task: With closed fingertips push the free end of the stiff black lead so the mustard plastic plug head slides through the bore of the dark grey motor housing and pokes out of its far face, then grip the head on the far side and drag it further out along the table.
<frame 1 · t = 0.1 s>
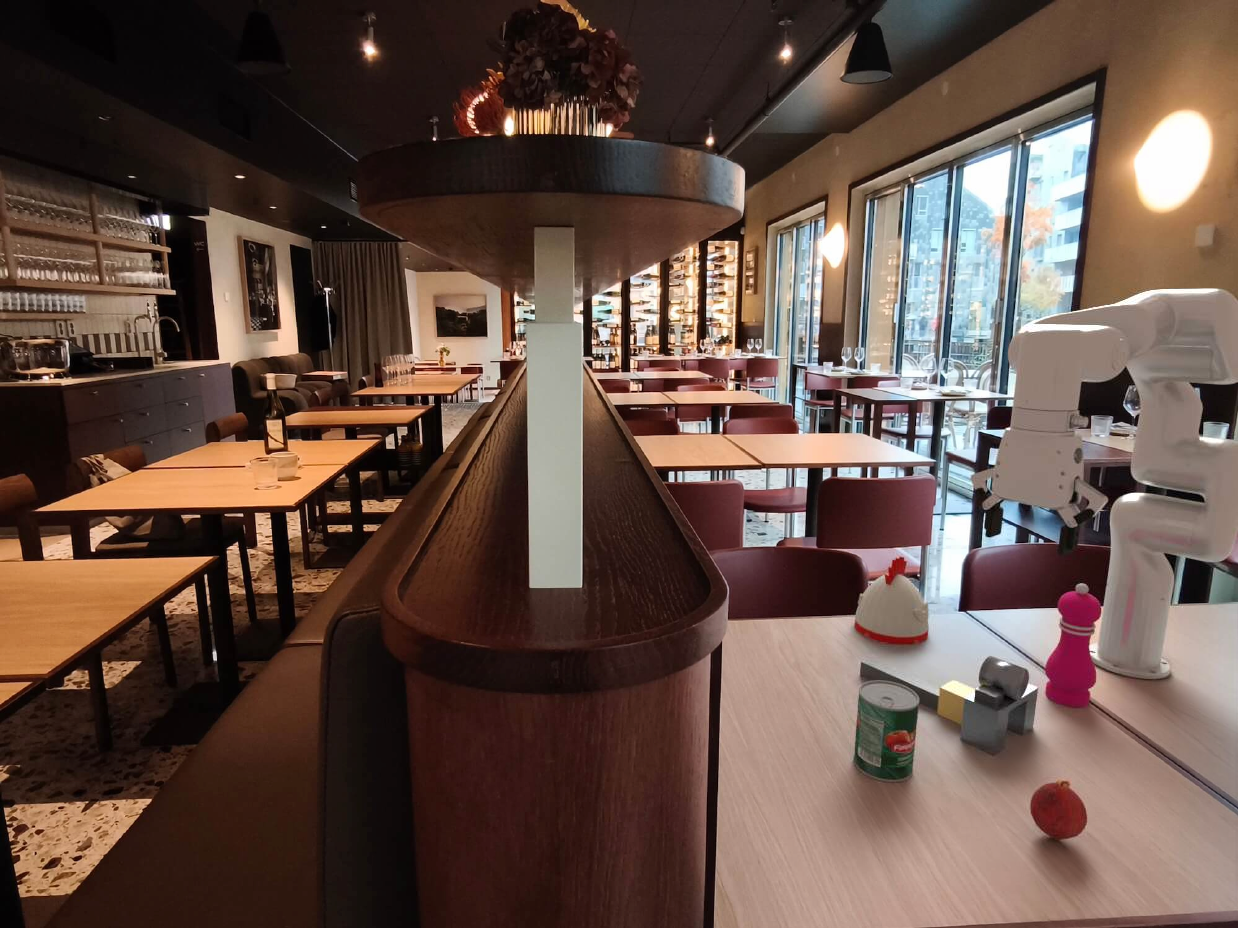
hand: (1027, 544, 101), 31 cm above the table, tool pointing down, fingers open, 9 cm apart
kitchen timer: (890, 630, 147), on the table
motor housing: (997, 733, 111), on the table
canned tomato: (882, 766, 103), on the table
pepper mill: (1066, 698, 121), on the table
plug: (958, 716, 115), on the table
red rounded piece: (1053, 839, 89), on the table
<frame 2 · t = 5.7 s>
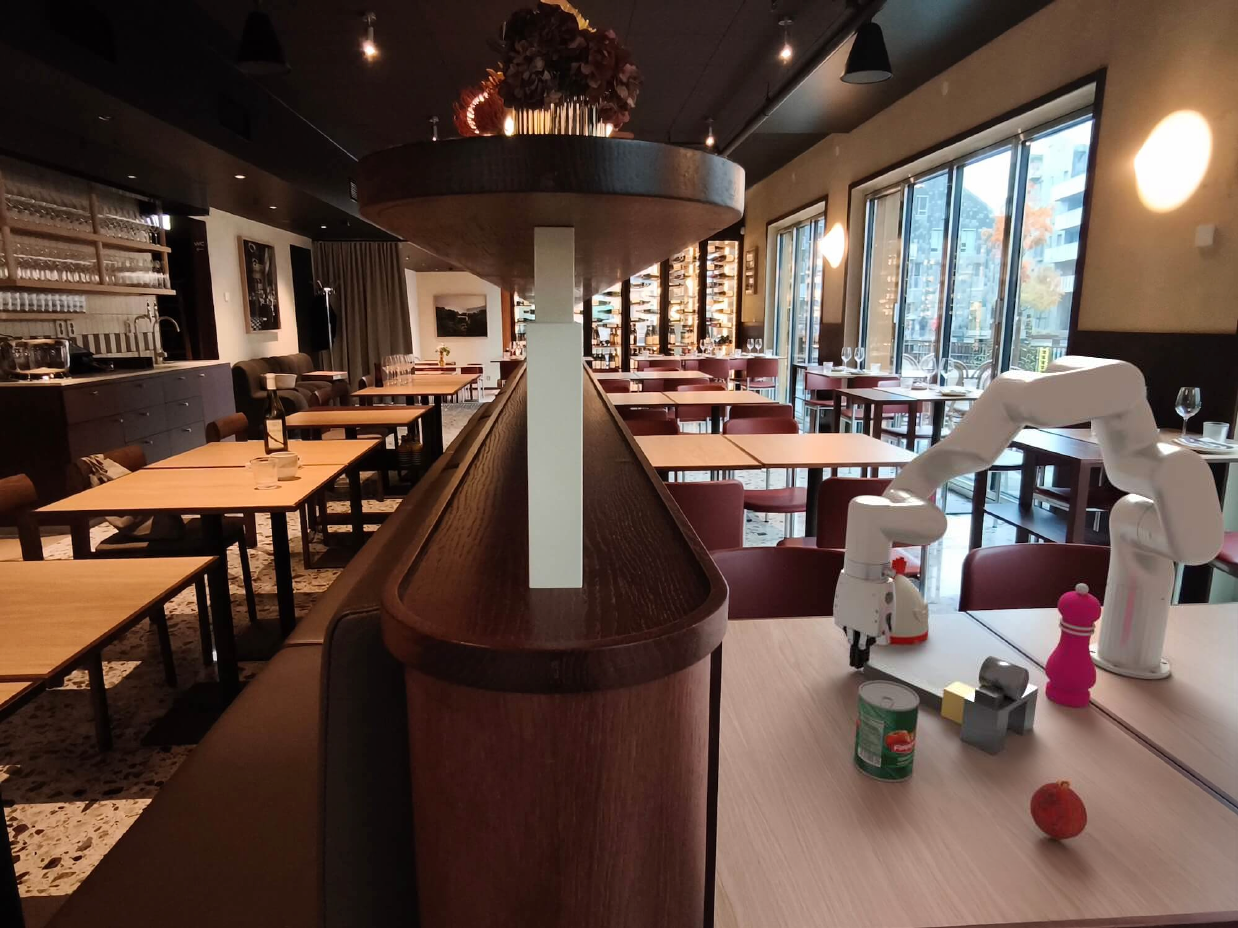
hand: (858, 665, 130), 1 cm above the table, tool pointing down, fingers closed
plug: (962, 717, 115), on the table, touching gripper
everything else where it was.
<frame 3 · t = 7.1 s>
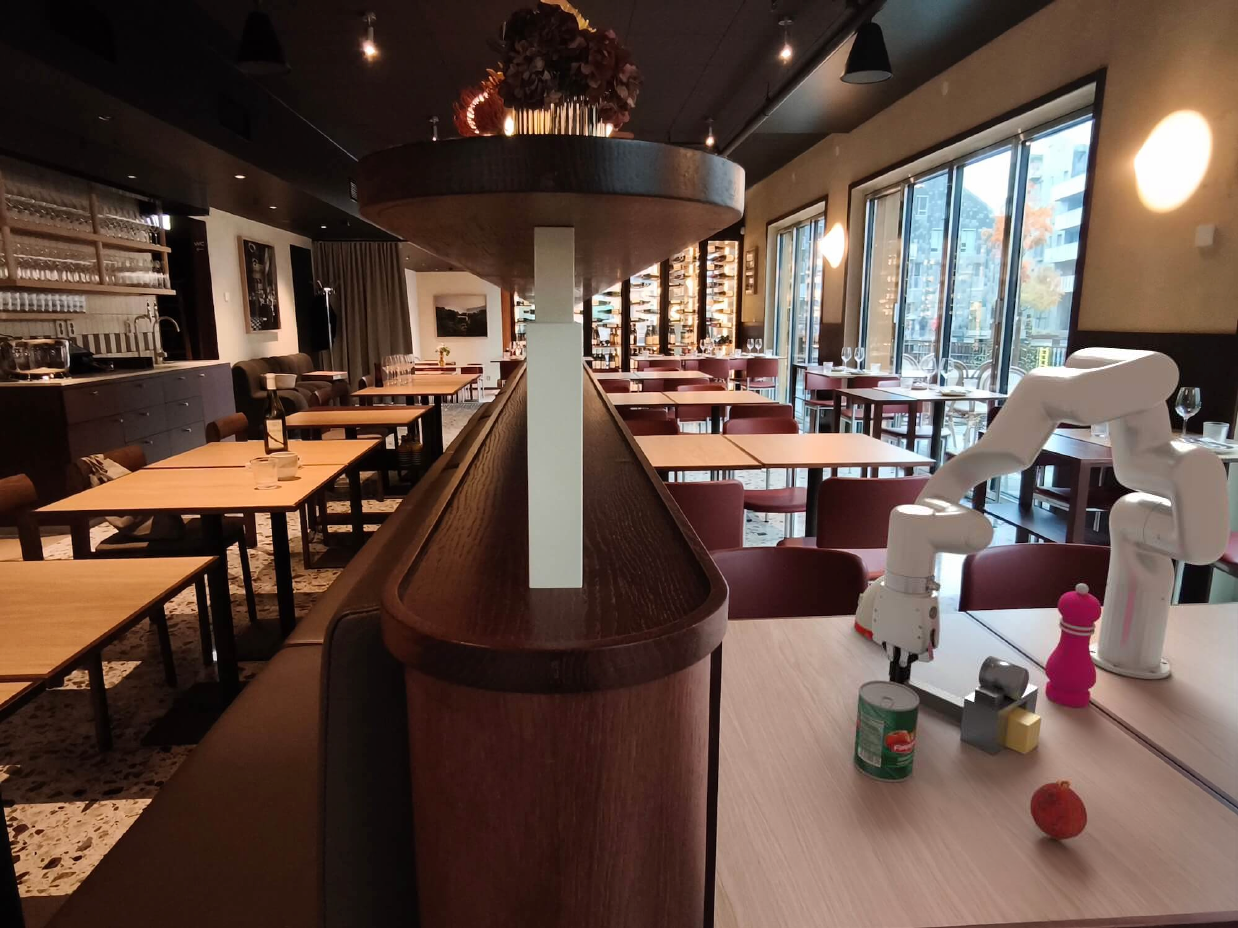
hand: (898, 683, 123), 1 cm above the table, tool pointing down, fingers closed
plug: (1013, 741, 108), on the table, touching gripper
everything else where it was.
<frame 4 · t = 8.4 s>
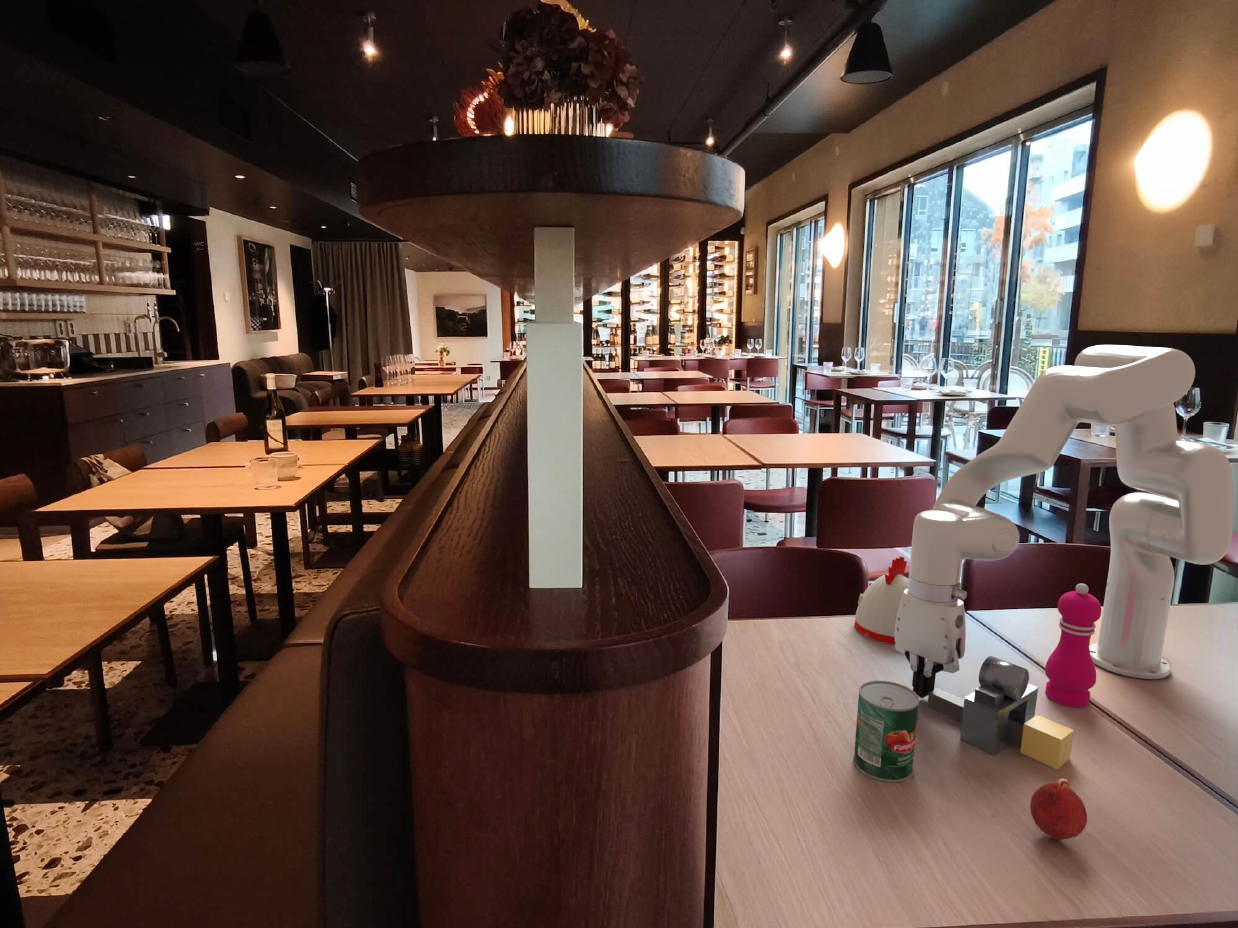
hand: (922, 693, 120), 1 cm above the table, tool pointing down, fingers closed
plug: (1044, 755, 105), on the table, touching gripper
everything else where it was.
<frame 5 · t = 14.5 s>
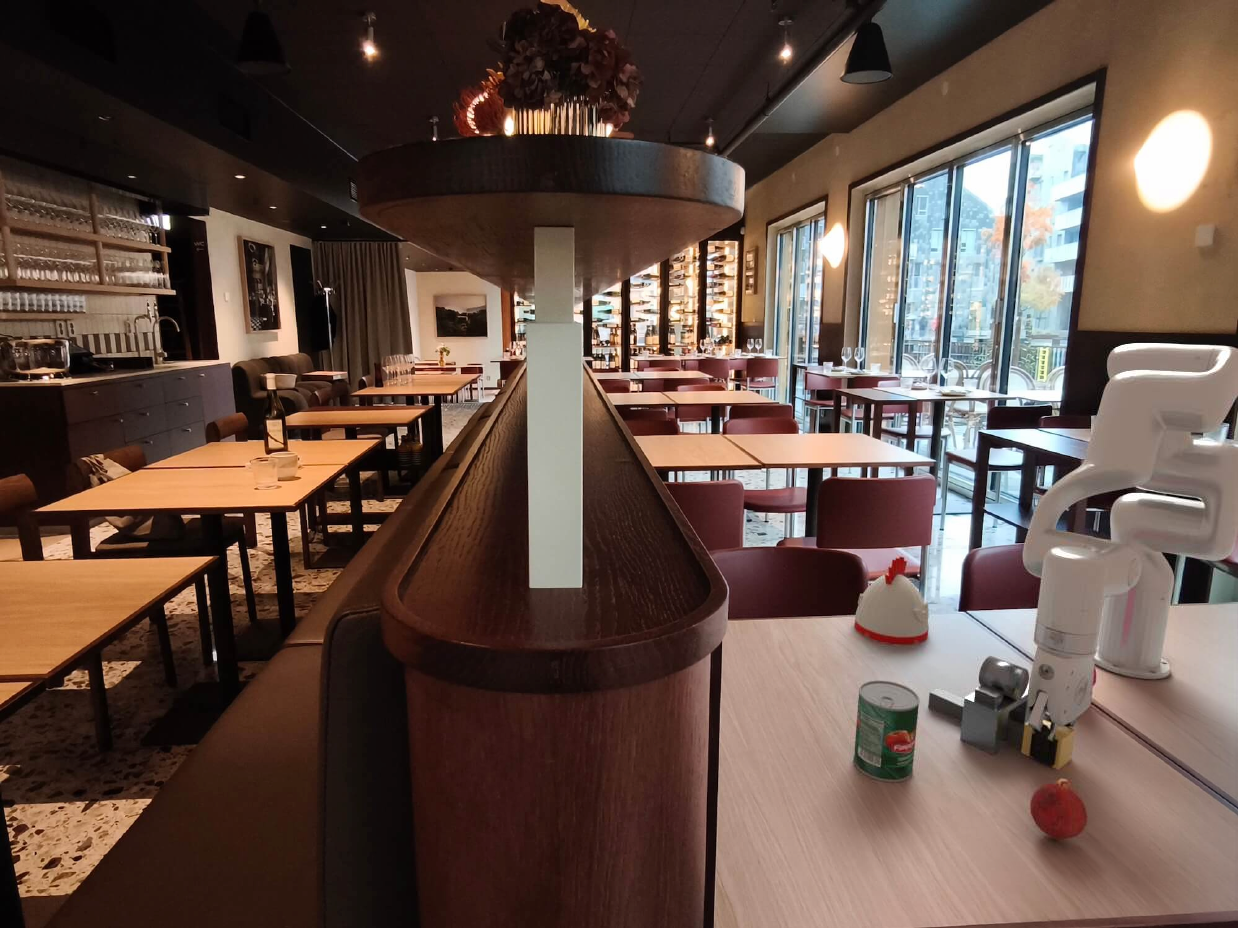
hand: (1049, 753, 105), 1 cm above the table, tool pointing down, fingers closed on plug, 4 cm apart
plug: (1045, 755, 105), on the table, touching gripper
everything else where it was.
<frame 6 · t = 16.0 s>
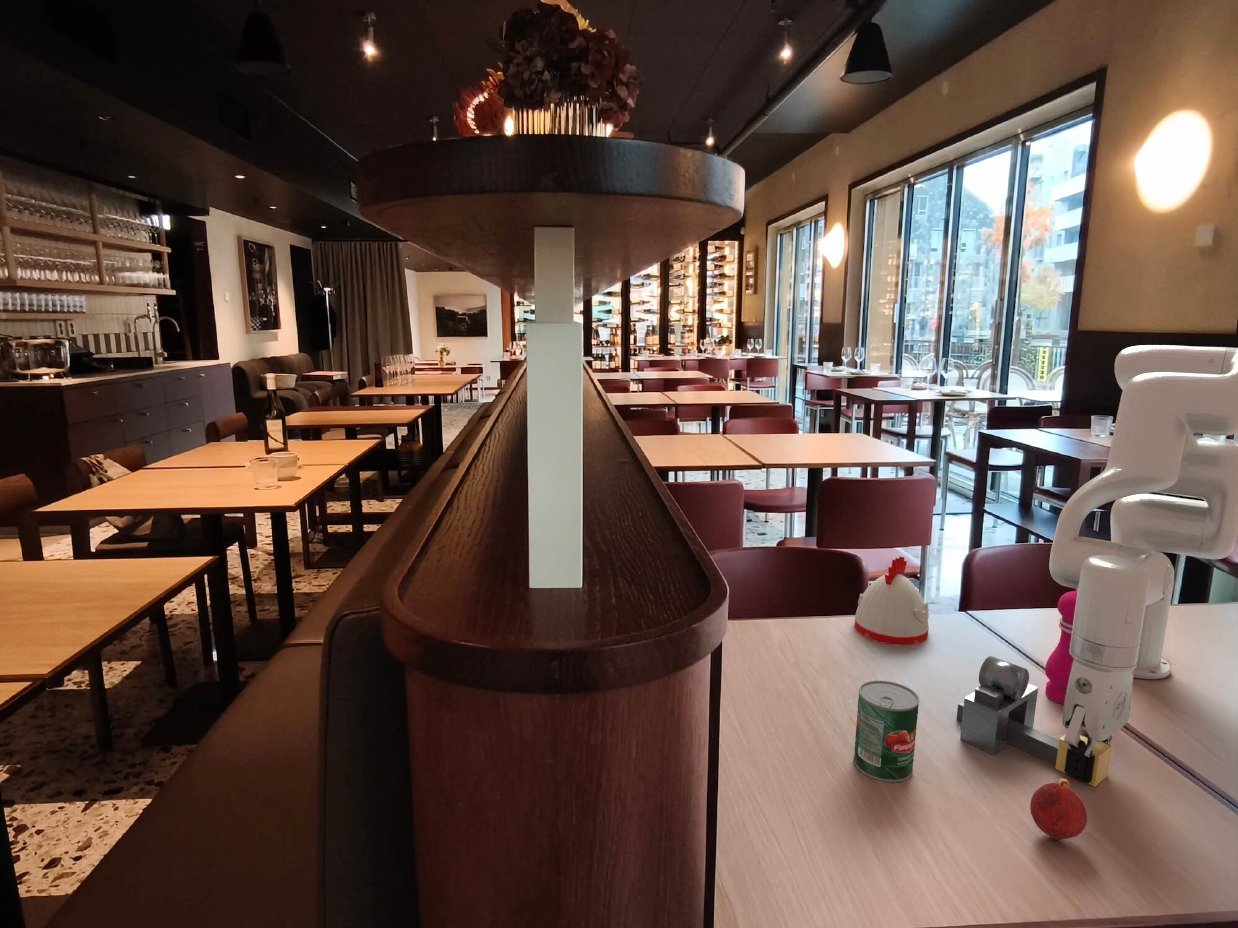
hand: (1085, 770, 101), 1 cm above the table, tool pointing down, fingers closed on plug, 4 cm apart
plug: (1081, 772, 101), on the table, touching gripper
everything else where it was.
when the fingers open (1 cm above the table, at t = 17.7 s): plug stays where it is, on the table.
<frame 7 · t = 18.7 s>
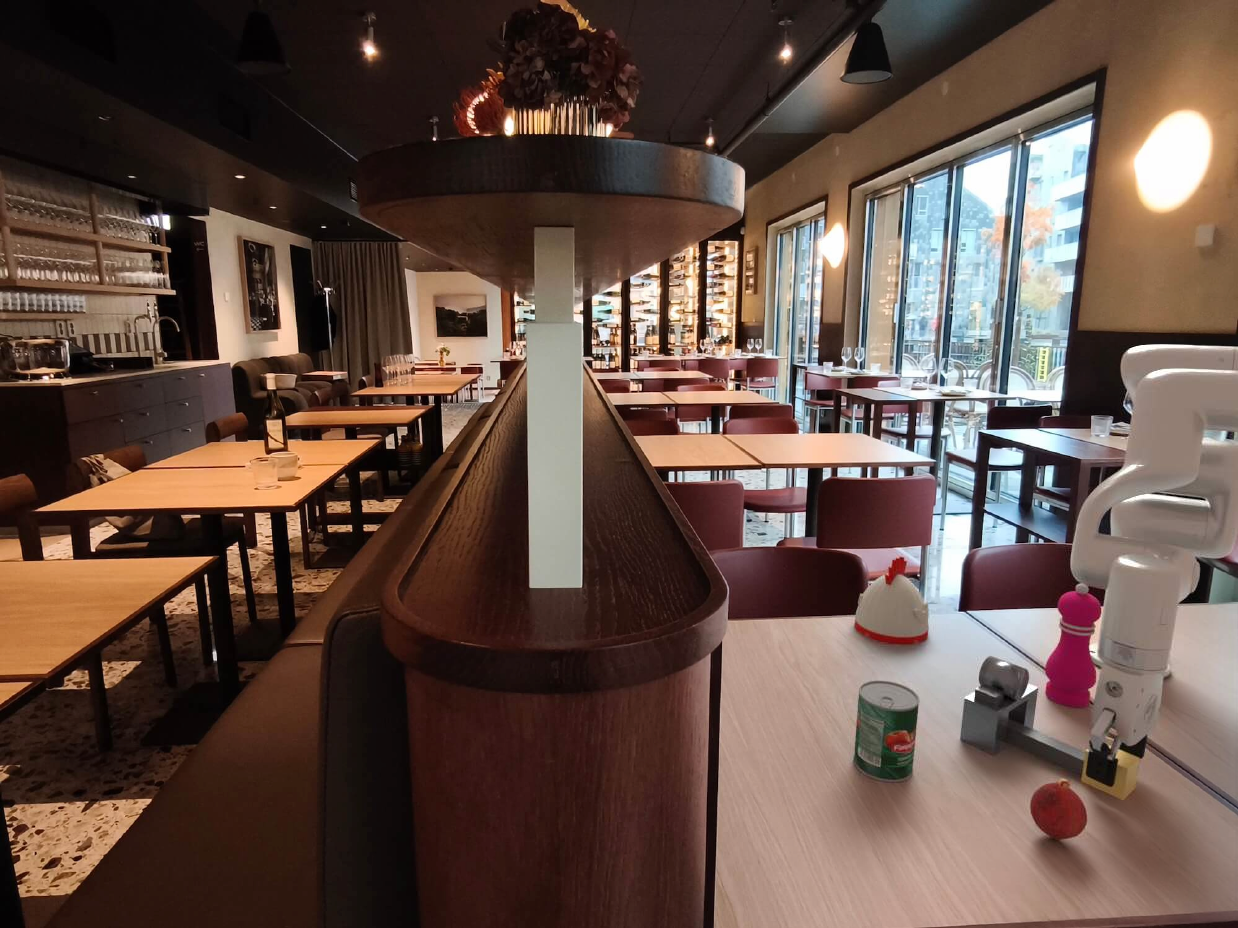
hand: (1114, 766, 98), 3 cm above the table, tool pointing down, fingers open, 9 cm apart
plug: (1107, 784, 99), on the table
everything else where it was.
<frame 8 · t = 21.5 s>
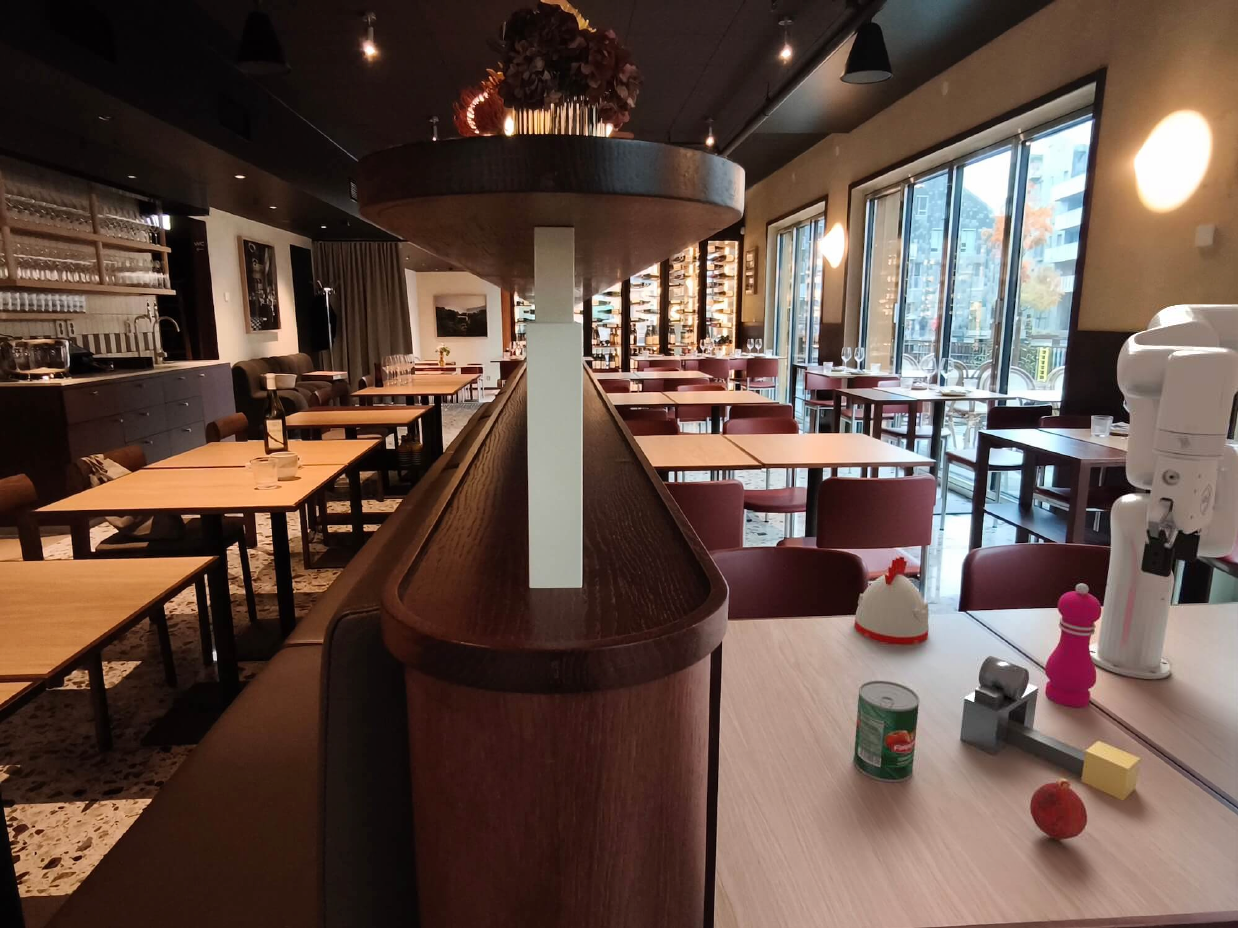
hand: (1168, 566, 100), 28 cm above the table, tool pointing down, fingers open, 9 cm apart
nothing on the table moved.
at the end: plug inside the target area (1.3 cm from its centre), on the table; the gripper is holding nothing; plug tilted 0° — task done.
